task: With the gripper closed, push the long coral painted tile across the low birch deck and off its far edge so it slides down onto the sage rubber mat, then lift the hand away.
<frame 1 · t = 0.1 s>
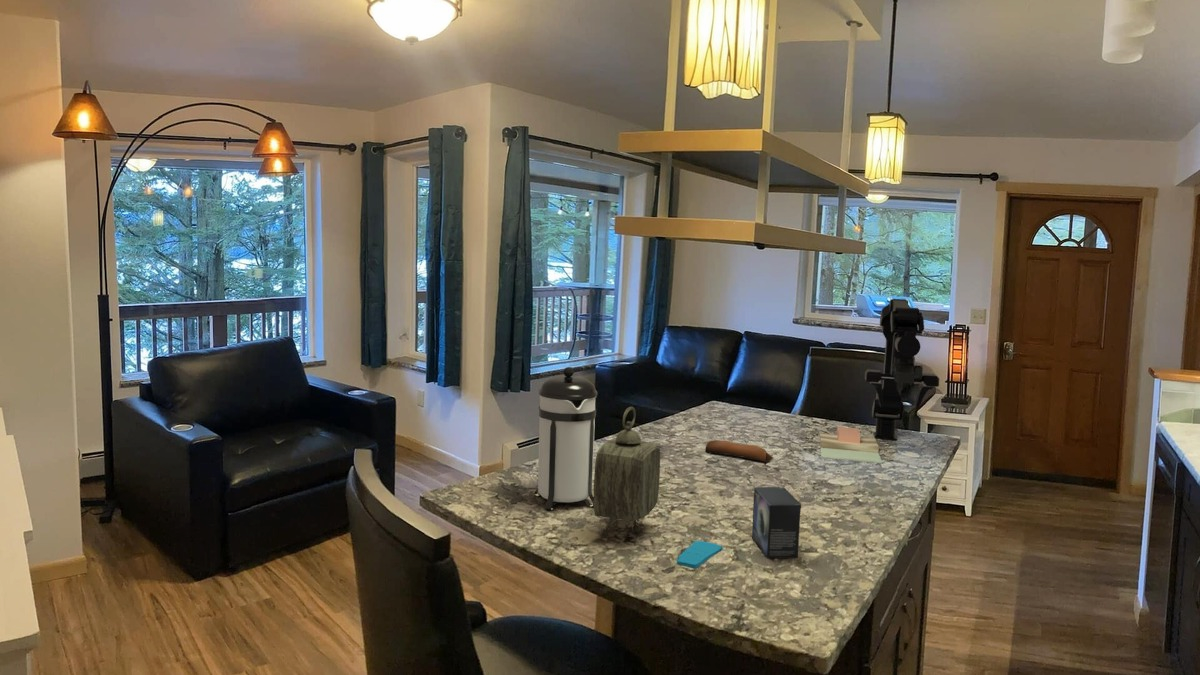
hand: (898, 408, 214), 15 cm above the table, fingers open, 9 cm apart
small box: (773, 548, 147), on the table
coral tile: (848, 439, 230), point 2 cm above the table, touching birch deck
birch deck: (847, 446, 229), on the table
coffee press: (561, 500, 171), on the table
sponge: (695, 558, 142), on the table
tabletop clock: (626, 532, 153), on the table
sunglasses case: (740, 457, 215), on the table
sage mat: (850, 455, 218), on the table
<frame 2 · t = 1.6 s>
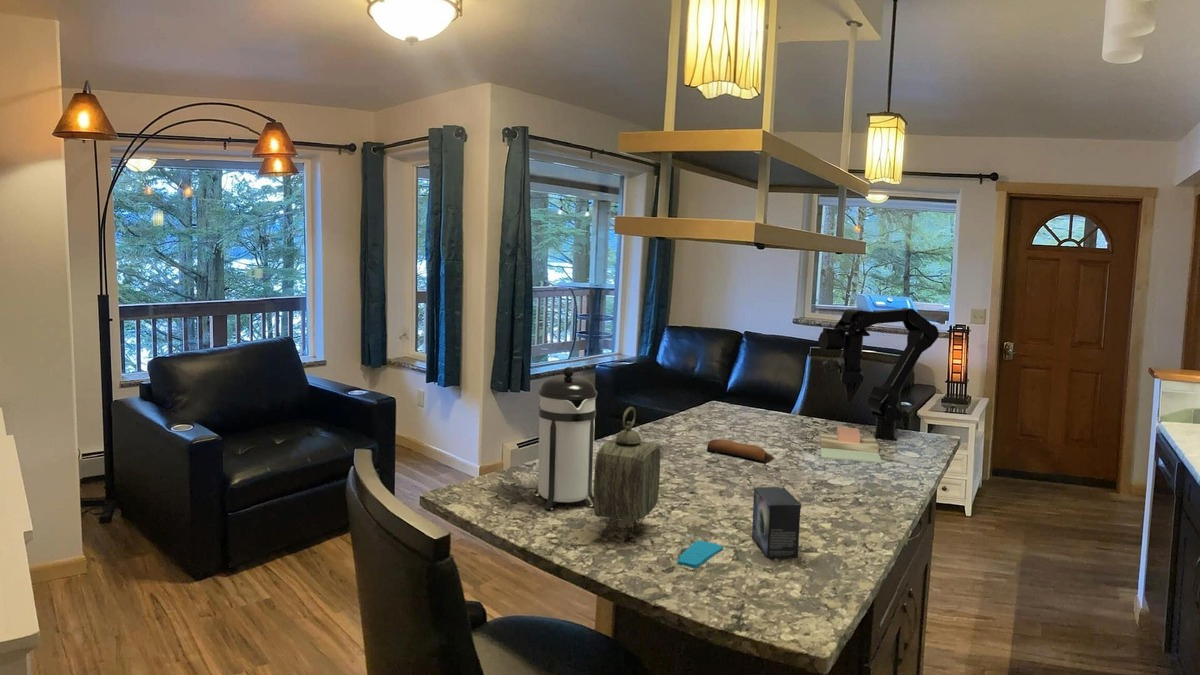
hand: (848, 400, 238), 12 cm above the table, fingers open, 5 cm apart
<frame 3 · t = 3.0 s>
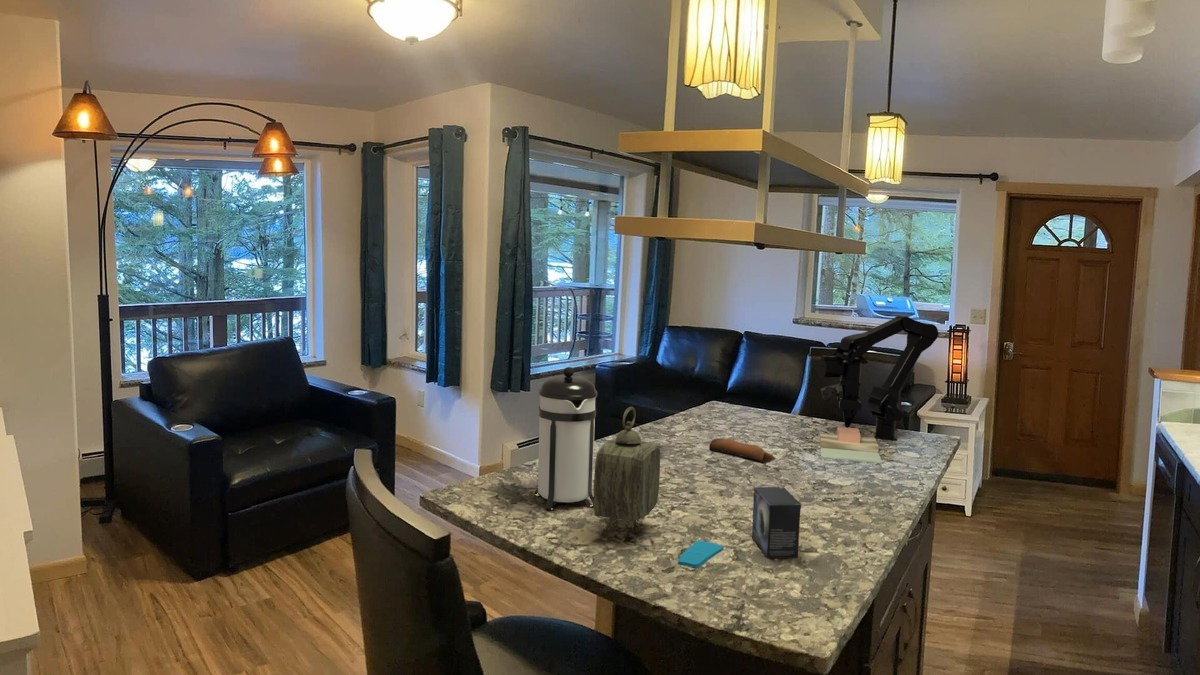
hand: (846, 427, 239), 4 cm above the table, fingers closed
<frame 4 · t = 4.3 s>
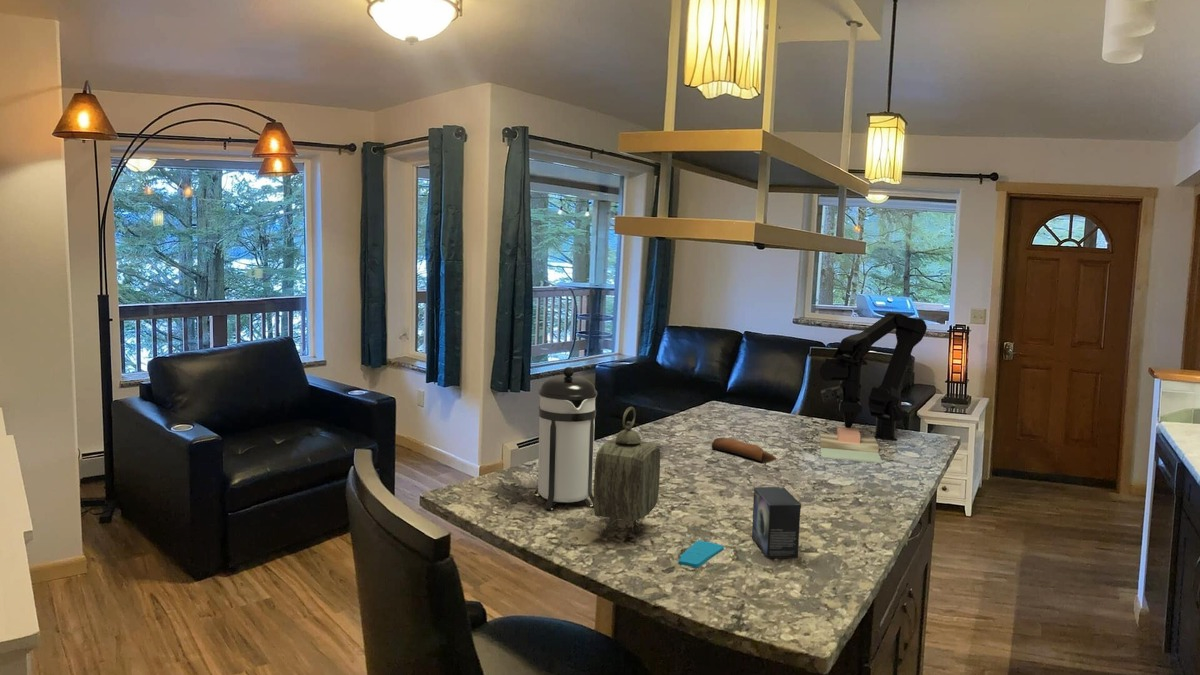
hand: (847, 430, 235), 4 cm above the table, fingers closed
coral tile: (848, 439, 230), point 2 cm above the table, touching birch deck, gripper
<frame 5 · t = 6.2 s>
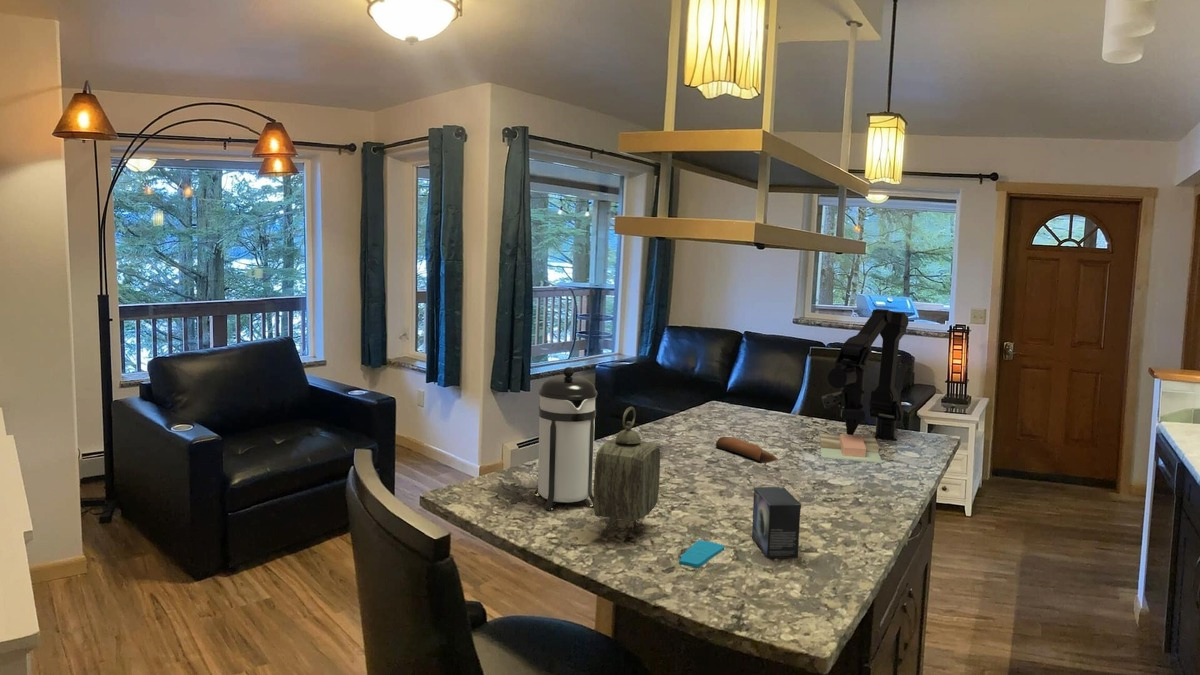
hand: (849, 437, 225), 4 cm above the table, fingers closed
coral tile: (852, 449, 220), point 1 cm above the table, tilted 12°, touching gripper
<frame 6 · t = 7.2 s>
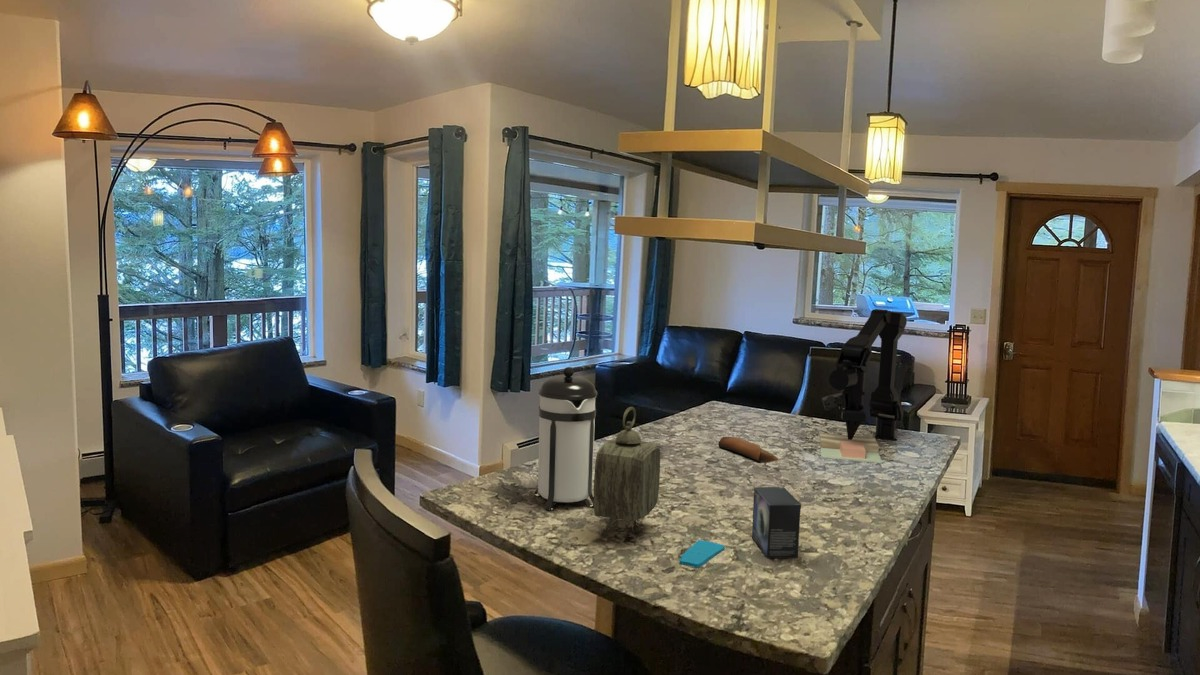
hand: (849, 439, 223), 4 cm above the table, fingers closed
coral tile: (851, 454, 219), resting on sage mat
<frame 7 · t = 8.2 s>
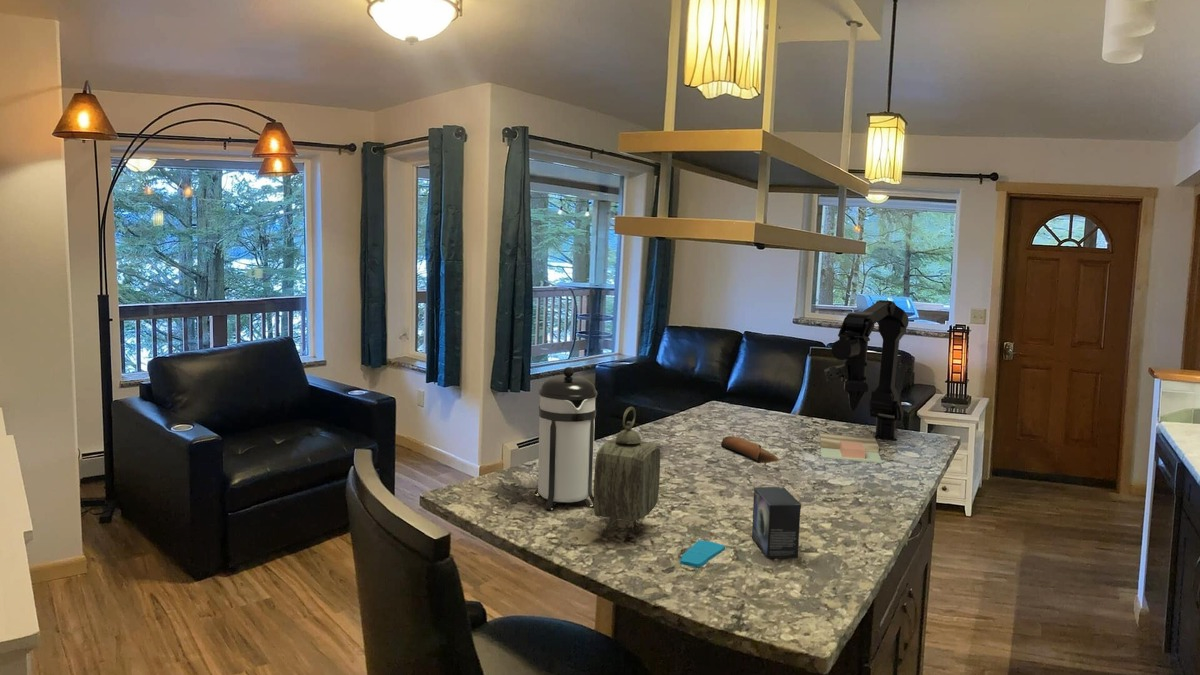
hand: (852, 410, 222), 12 cm above the table, fingers closed
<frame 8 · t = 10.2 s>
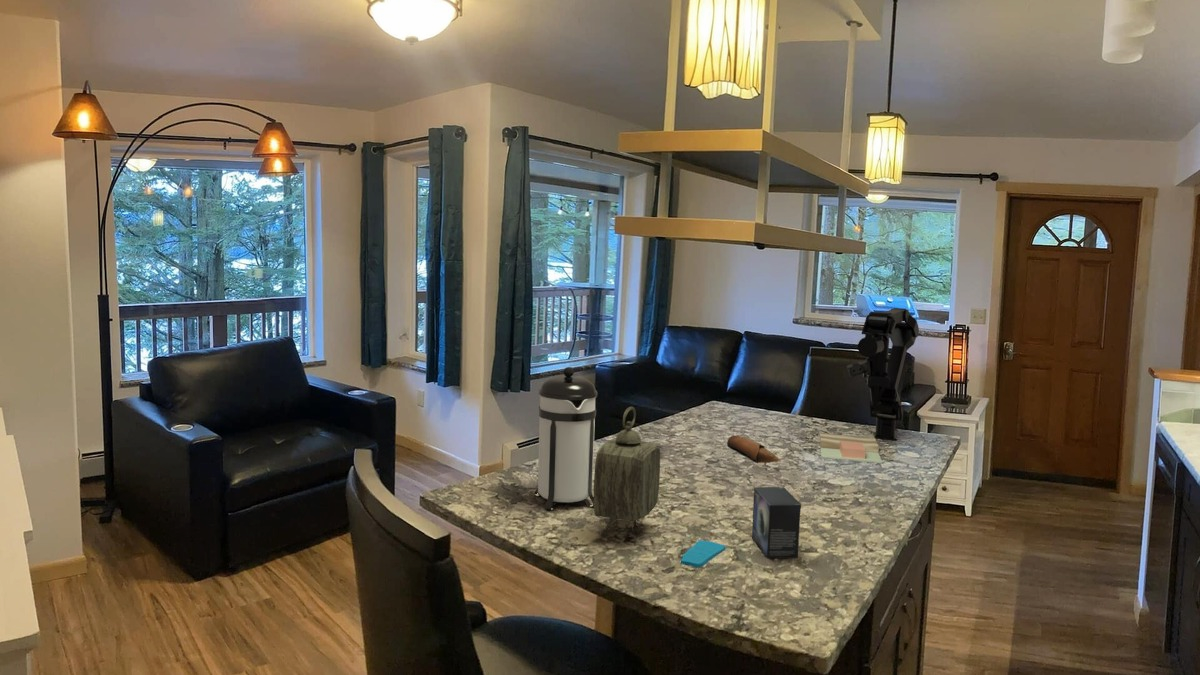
hand: (874, 405, 231), 12 cm above the table, fingers closed
at the end: coral tile inside the target area (1.9 cm from its centre), resting on sage mat; coral tile touching sage mat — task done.
